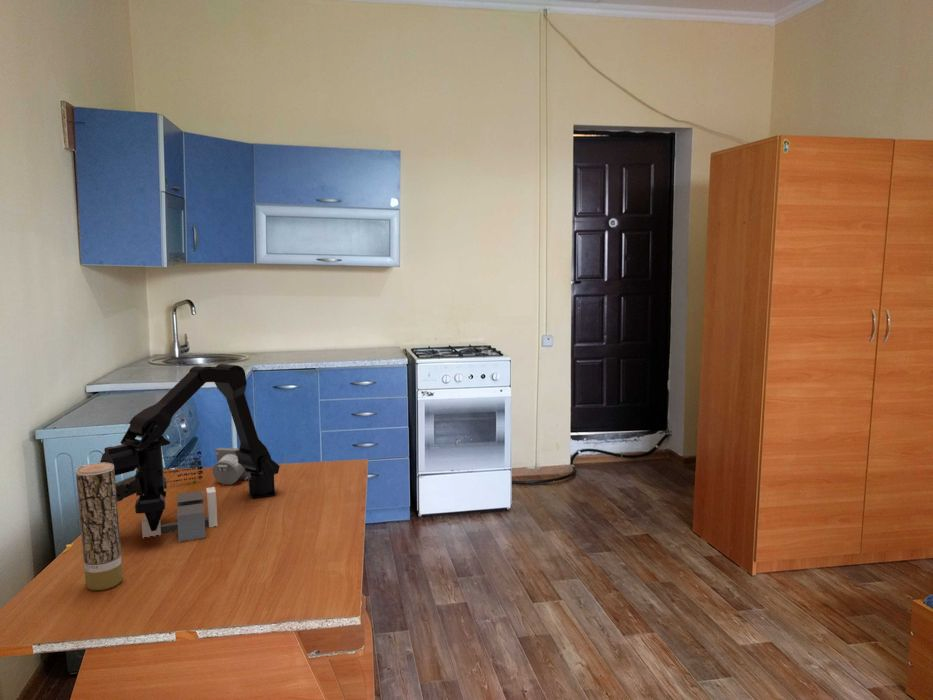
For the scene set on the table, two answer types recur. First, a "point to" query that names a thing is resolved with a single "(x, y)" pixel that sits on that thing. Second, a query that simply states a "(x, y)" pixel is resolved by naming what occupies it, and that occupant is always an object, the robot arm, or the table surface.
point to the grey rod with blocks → (147, 532)
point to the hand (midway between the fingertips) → (154, 527)
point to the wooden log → (99, 525)
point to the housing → (190, 516)
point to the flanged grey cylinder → (220, 467)
